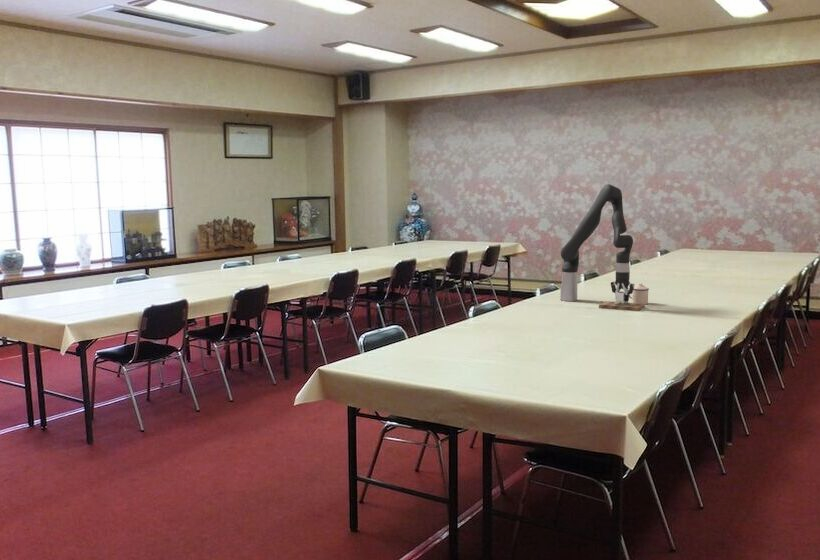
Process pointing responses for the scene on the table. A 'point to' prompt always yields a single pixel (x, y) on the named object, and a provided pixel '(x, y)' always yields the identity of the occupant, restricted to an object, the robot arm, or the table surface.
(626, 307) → the walnut base
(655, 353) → the table surface
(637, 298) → the teacup with lid
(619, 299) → the white block
